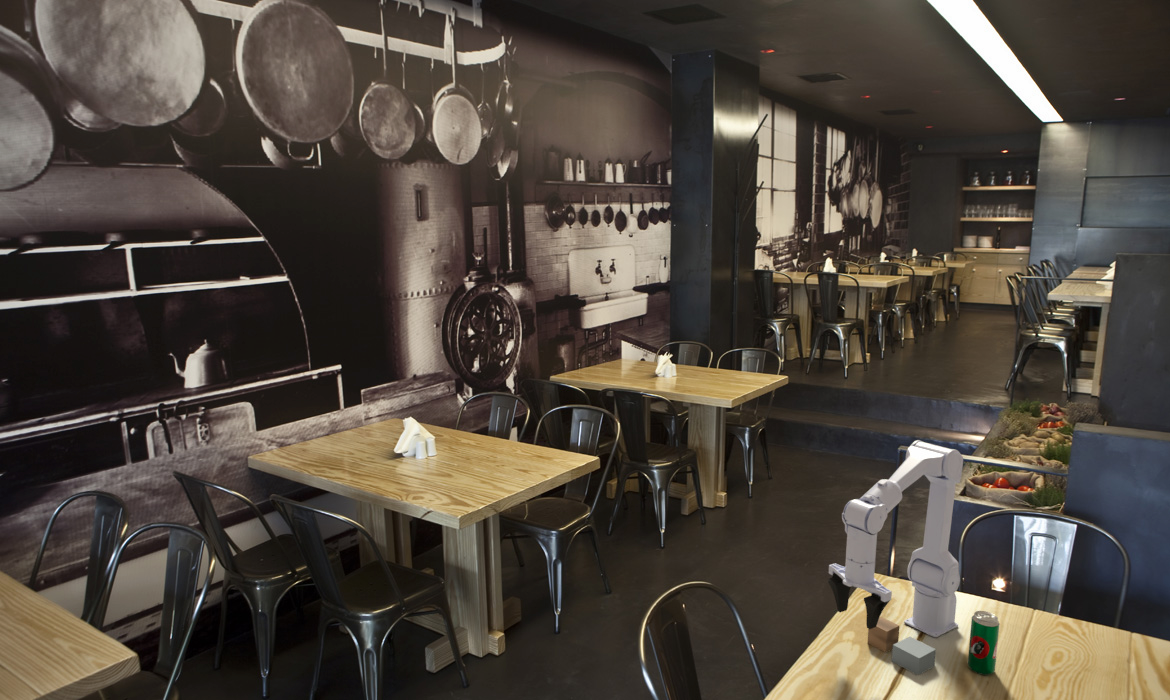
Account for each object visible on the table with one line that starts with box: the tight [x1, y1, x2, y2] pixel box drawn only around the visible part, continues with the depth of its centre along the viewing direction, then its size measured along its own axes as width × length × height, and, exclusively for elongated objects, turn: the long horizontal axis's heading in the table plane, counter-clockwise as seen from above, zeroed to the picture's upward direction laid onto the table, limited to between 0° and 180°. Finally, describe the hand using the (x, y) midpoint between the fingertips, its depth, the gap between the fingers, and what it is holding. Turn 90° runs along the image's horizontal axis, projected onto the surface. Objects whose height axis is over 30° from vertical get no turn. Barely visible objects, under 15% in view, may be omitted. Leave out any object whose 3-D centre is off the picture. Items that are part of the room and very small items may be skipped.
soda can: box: [967, 610, 1000, 676], centre depth 154 cm, size 5×5×12 cm
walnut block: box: [867, 616, 900, 653], centre depth 163 cm, size 4×4×5 cm
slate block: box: [891, 636, 937, 676], centre depth 156 cm, size 6×6×4 cm
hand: (856, 618), depth 155 cm, fingers open, 7 cm apart
